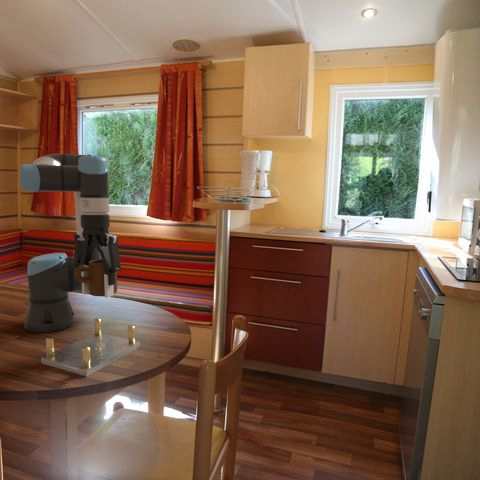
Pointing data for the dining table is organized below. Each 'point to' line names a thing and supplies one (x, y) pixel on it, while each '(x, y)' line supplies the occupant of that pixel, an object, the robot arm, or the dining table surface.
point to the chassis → (90, 351)
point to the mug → (94, 277)
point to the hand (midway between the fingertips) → (97, 294)
